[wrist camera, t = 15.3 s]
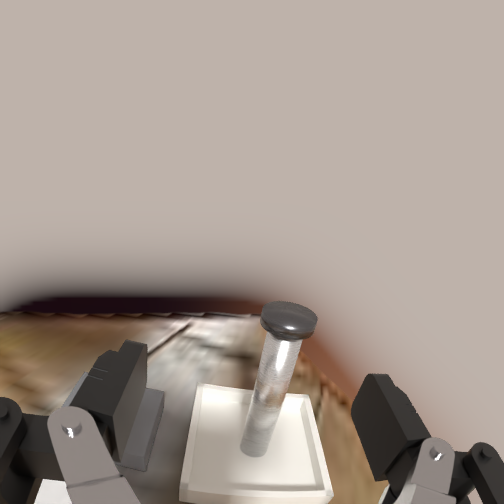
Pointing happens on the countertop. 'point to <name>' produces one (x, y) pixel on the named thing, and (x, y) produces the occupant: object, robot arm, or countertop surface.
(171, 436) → the countertop surface
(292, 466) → the tray
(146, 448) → the block
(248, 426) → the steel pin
